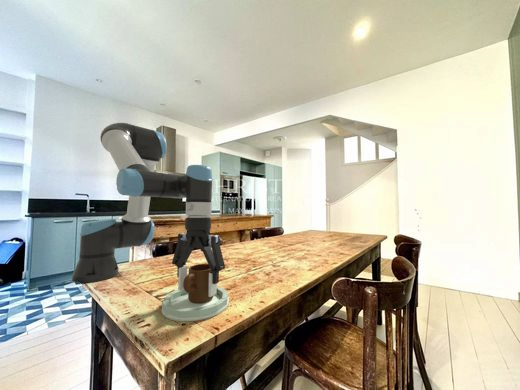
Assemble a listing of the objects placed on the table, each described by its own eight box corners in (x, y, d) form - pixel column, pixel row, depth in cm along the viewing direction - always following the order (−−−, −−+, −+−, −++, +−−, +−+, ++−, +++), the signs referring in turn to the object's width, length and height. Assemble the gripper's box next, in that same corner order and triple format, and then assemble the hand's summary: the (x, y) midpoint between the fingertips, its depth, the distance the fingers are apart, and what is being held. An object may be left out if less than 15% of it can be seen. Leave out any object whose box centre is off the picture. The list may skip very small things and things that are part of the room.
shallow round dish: (145, 312, 58) (146, 303, 58) (193, 288, 75) (193, 281, 75) (201, 328, 50) (201, 317, 50) (240, 298, 67) (240, 290, 67)
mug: (196, 313, 56) (196, 277, 56) (172, 309, 58) (172, 274, 58) (218, 294, 67) (218, 264, 67) (197, 291, 69) (197, 262, 70)
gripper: (160, 216, 65) (158, 289, 64) (223, 217, 56) (222, 304, 55) (179, 215, 72) (177, 282, 71) (238, 216, 63) (237, 293, 61)
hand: (196, 291), depth 63 cm, fingers open, 10 cm apart
